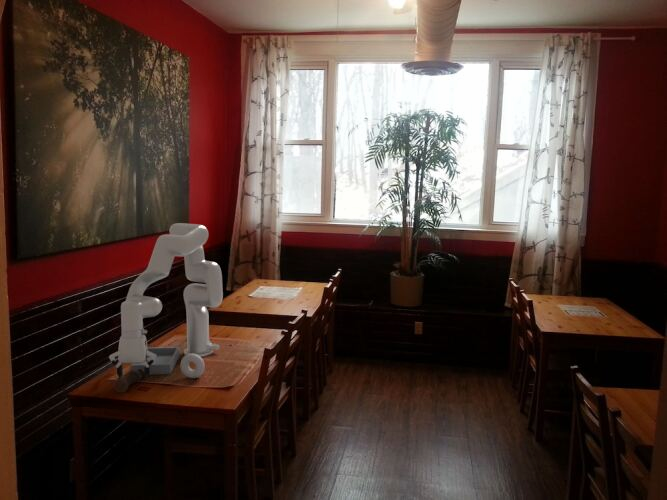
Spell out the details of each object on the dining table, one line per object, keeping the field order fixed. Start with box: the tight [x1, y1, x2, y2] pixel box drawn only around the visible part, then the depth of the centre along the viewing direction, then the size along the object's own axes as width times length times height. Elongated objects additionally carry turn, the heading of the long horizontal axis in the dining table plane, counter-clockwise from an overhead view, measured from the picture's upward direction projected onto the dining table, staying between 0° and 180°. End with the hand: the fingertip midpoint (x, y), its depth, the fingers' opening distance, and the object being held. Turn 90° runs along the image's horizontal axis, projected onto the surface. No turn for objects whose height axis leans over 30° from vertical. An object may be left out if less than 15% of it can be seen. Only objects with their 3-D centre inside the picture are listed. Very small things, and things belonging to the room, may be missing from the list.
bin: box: [131, 346, 181, 376], centre depth 225 cm, size 15×21×4 cm
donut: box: [179, 354, 206, 379], centre depth 212 cm, size 10×3×10 cm, turn 80°
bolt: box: [113, 369, 145, 394], centre depth 205 cm, size 6×5×15 cm
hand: (133, 376), depth 205 cm, fingers open, 9 cm apart
